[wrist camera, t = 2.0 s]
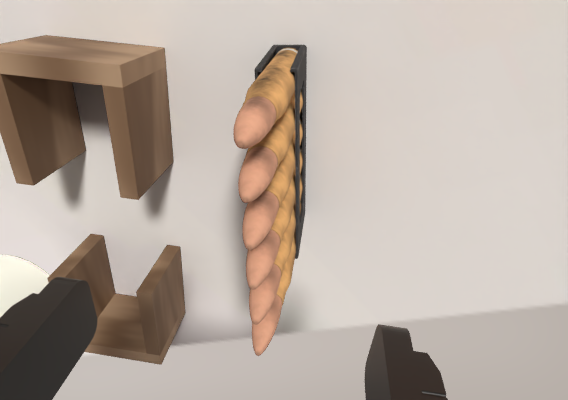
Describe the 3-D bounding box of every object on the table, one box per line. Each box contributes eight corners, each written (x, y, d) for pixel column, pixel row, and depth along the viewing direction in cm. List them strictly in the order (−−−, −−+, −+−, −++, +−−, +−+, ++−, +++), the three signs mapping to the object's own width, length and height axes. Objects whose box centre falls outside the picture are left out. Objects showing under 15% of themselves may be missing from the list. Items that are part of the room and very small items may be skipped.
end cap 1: (71, 148, 25) (16, 183, 21) (46, 35, 22) (-27, 48, 17) (173, 161, 25) (138, 199, 20) (164, 47, 21) (119, 65, 17)
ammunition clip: (305, 214, 26) (282, 372, 15) (277, 213, 26) (236, 367, 15) (306, 44, 20) (272, 111, 10) (272, 44, 20) (204, 110, 10)
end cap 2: (180, 246, 28) (151, 294, 24) (185, 312, 32) (161, 364, 28) (90, 233, 29) (47, 278, 24) (105, 300, 32) (70, 349, 28)
